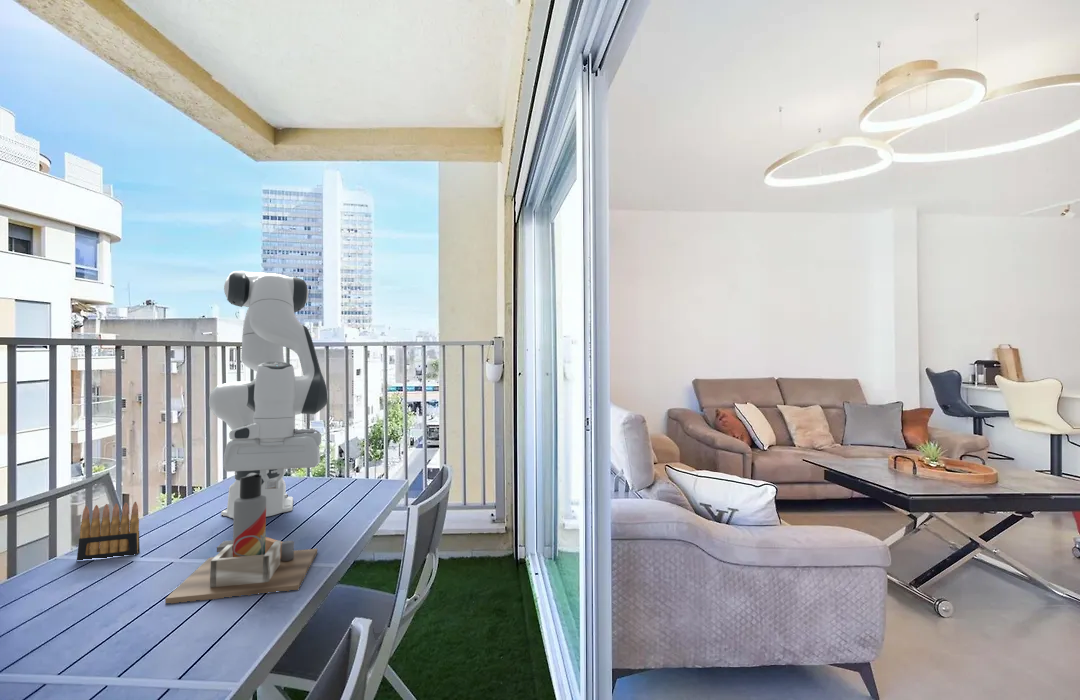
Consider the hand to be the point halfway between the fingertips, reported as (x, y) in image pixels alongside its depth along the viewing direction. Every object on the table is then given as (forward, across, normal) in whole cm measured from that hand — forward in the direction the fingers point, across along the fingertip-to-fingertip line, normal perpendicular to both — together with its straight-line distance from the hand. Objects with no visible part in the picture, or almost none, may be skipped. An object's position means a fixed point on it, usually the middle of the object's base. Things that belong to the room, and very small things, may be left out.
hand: (272, 488), depth 115 cm
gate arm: (+13, -2, +7) cm, 15 cm away
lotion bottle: (+14, 0, +16) cm, 21 cm away
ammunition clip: (+14, +34, -5) cm, 37 cm away
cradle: (+15, 0, +14) cm, 20 cm away
